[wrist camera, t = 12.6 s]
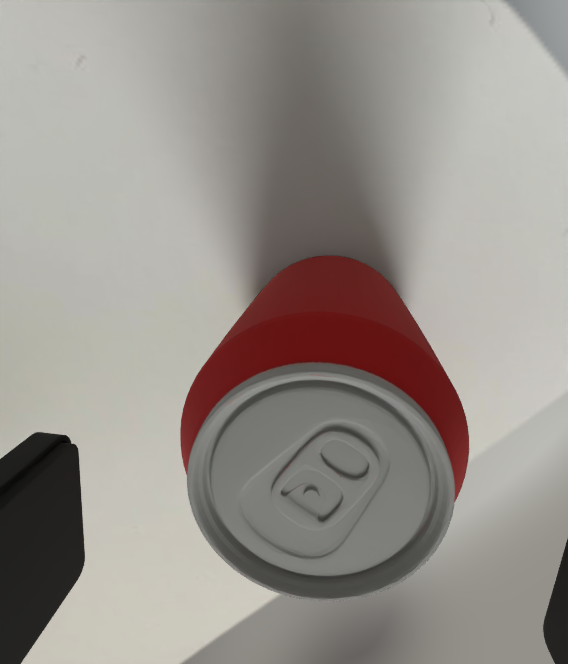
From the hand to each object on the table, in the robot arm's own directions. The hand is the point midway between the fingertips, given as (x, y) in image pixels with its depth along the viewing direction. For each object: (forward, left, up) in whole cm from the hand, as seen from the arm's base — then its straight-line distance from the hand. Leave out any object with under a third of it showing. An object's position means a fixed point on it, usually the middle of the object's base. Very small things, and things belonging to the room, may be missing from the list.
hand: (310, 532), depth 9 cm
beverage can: (0, 0, -13) cm, 13 cm away
